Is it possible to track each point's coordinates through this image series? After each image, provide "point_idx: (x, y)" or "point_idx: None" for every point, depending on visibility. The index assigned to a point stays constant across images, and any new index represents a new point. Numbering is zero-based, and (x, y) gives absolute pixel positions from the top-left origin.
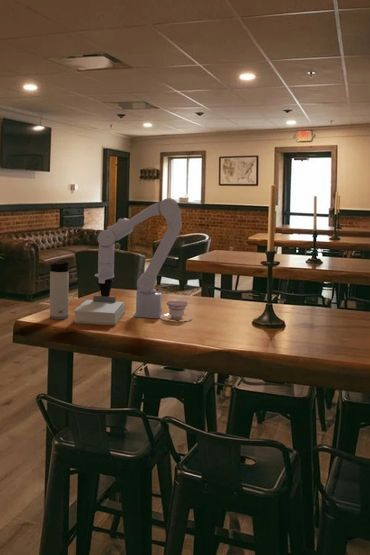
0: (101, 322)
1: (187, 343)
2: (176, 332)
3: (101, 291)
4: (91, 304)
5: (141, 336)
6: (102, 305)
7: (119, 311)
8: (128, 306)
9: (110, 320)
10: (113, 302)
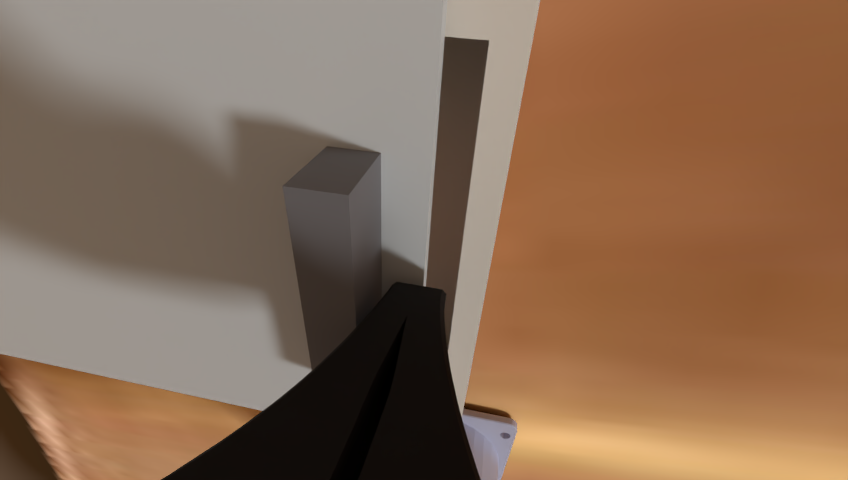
0: None
1: (68, 468)
2: None
3: (320, 377)
4: (120, 144)
5: (31, 374)
6: (157, 273)
7: None
8: (780, 397)
9: None
10: None
